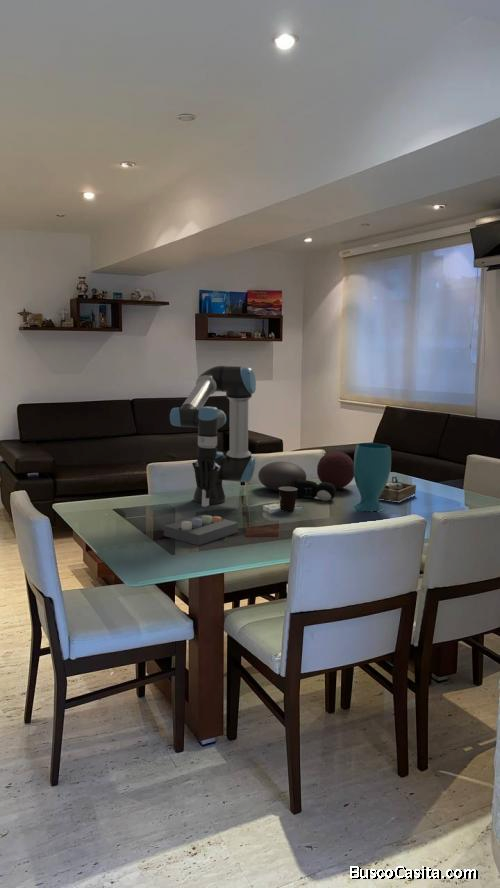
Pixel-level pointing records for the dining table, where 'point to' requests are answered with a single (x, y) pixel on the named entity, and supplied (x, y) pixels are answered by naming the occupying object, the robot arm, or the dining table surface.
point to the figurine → (315, 490)
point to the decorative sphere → (336, 469)
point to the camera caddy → (398, 492)
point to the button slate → (196, 522)
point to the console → (201, 531)
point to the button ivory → (186, 525)
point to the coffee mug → (287, 498)
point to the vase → (371, 473)
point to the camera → (394, 485)
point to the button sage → (206, 519)
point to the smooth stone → (280, 475)
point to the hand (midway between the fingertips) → (205, 505)
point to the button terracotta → (216, 518)
